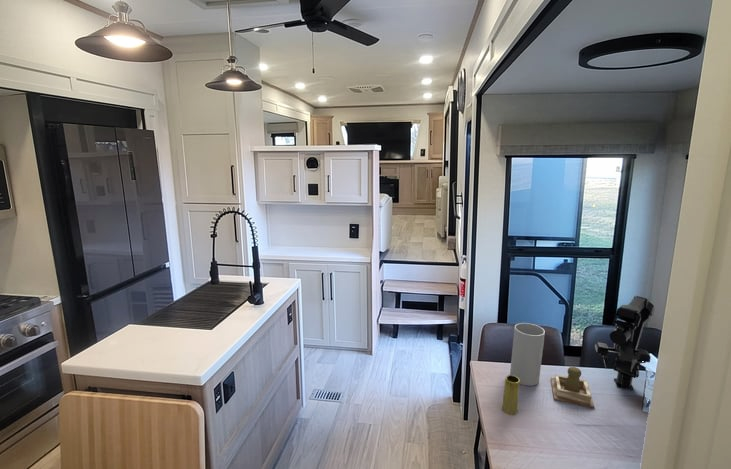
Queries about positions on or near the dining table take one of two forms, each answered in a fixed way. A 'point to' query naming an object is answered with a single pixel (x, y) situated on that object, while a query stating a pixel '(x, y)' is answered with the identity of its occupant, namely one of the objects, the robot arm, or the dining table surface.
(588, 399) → the socket block
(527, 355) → the cylinder vase
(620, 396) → the dining table surface
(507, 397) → the vase
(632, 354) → the robot arm
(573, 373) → the cork
